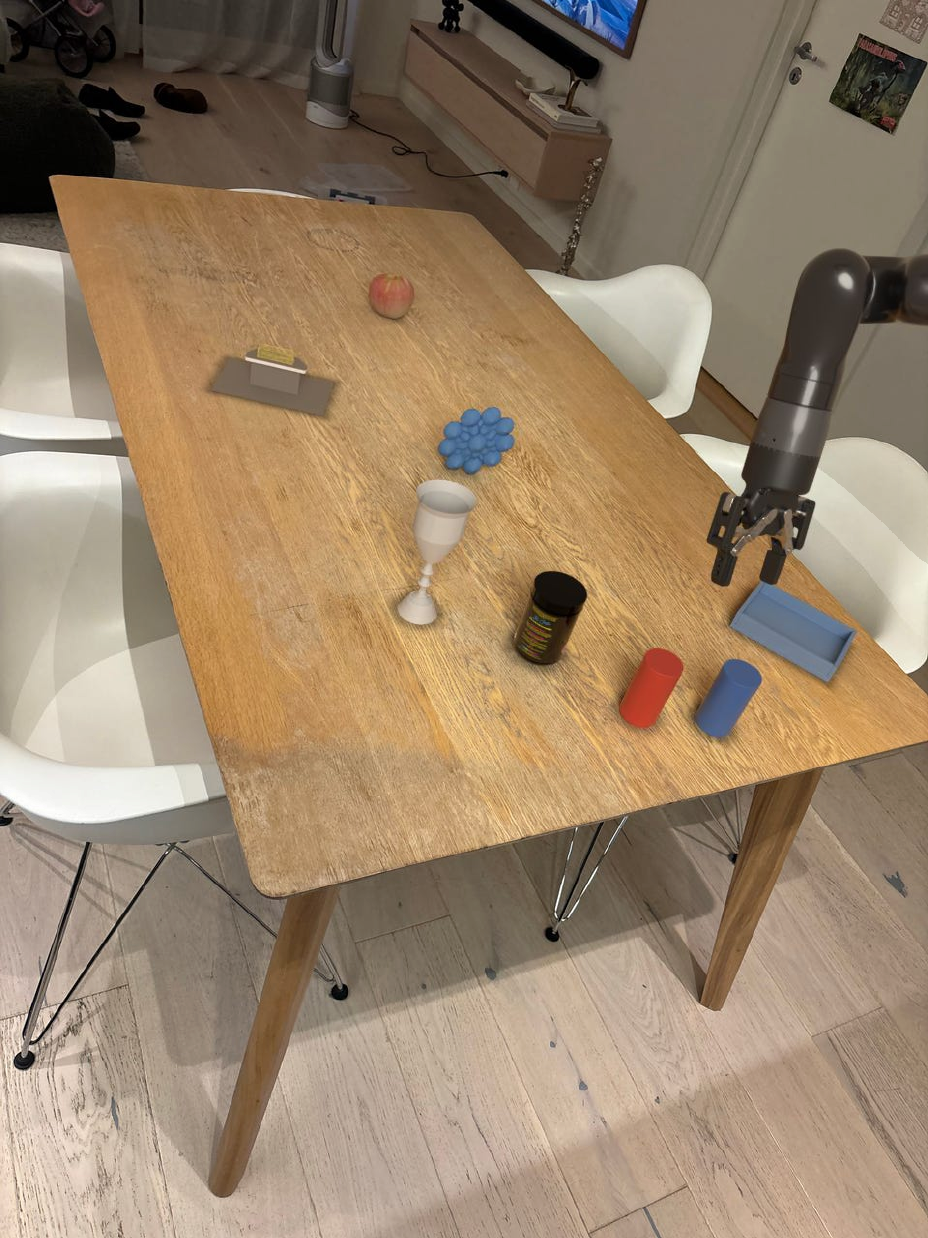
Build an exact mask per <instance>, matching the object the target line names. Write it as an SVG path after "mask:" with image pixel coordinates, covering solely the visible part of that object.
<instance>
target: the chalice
mask: <svg viewBox="0 0 928 1238" xmlns="http://www.w3.org/2000/svg"><path fill="white" fill-rule="evenodd" d="M415 492H416V498H417V501H418V502H417V505H416V510H415V514H414V517H413V521H412V522H413V523H412V530H413V534H414V535H413V536H414V541H415V545H416V548H417V549H418V553H419V555H420V556H419V557H420V558H421V559H422V560H423V561H425V563H424V565H423V567H421V568H420V572H421V574H422V576H421V578H418V580H417V584H418V586H419V587H418V588H419V589H418V590H417V589H416V590H412V591H410V592H409V593H407V595H406V596H405V597H404V598H403V599H402V600H401V602H399V603H398V606H397V612H398V614H399V615H400V617H401V618H402V619H404V621H406V622H408V623H411V624H415V625H428V624H430V623H433V622H434V621H435V620H436V619H437V610H436V606H435V600H434V599H433V597H432V596H431V595H430V594H429V593H428V592H427V590H428V588H430V587H431V586H432V581H431V576H432V575H434V574H435V570H434V564H438V563H440V562H442V561H443V560H444V559H445V558H446V557H447V556H448V555H449V554H450V553H452V551H454V550H455V548H456V547H457V546H458V544H459V543H460V542H461V541H462V539H463V537H464V534H465V530H466V527H467V524H468V520H469V516H470V513H472V511H473V510H474V509H475V508H476V506H477V504H478V500H477V496H476V495H475V493H473V491H472V490H471V489H469V488H468V487H467V486H465V485H463V484H460V483H458V482H455V481H451V480H448V479H447V480H446V479H430V480H427V481H424V482H421V483H420V484H419V485H418V486H417V487H416V490H415Z"/></svg>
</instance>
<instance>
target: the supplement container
mask: <svg viewBox="0 0 928 1238" xmlns="http://www.w3.org/2000/svg"><path fill="white" fill-rule="evenodd" d="M587 598H588V591H587V589H586V587H585V585H583V583H582V582H581V581H580V580H578V579H577V578H576V577H574V576H572V575H570V574H568V573H565V572H563V571H558V570H546V571H542V572H540V573H538V574H537V575H536V576H535V577H534V579H533V583H532V585H531V587H530V591H529V594H528V597H527V600H526V602H525V604H524V608H523V611H522V614H521V616H520V619H519V622H518V625H517V628H516V631H515V632H514V635H513V640H512V641H513V647H514V650H515V652H516V653H517V654H518V656H519V657H520V658H521V659H523V660H524V661H525V662H527V663H529V664H532V665H534V666H539V667H549V666H552V665H555V664H557V663H558V662H559V661H560V660H562V658H563V656H564V653H565V651H566V649H567V647H568V644H569V642H570V639H571V637H572V634H573V633H574V630H575V627H576V625H577V622H578V620H579V618H580V615H581V613H582V611H583V609H584V607H585V603H586V601H587Z"/></svg>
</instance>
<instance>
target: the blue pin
mask: <svg viewBox="0 0 928 1238" xmlns="http://www.w3.org/2000/svg"><path fill="white" fill-rule="evenodd" d="M762 681H763V677H762V675H761V673H760V670H758V669H757V668H756V667H755V666H754V665H752V663H749V662H747V661H746V660H742V659H739V658H730V659H728V660H726V661H725V662H724V663H723V665H722V666H721V668H720V670H719V671H718V674H717V675H716V676H715V678H714V680H713V682H712V683H711V686H710V687H709V689H708V690H707V692H706V694H705V696H704V697H703V700H701V703H700V704H699V706H698V708H697V710H696V711H695V712H694V721H695V724H696V725H697V727H698V728H699V729H700V730H701V731H702V732H704V733H705V734H707V735H708V736H710V737H714V738H726V737H727V736H729V735H730V734H731V732H732V731H733V729H734V728H735V726H736V724H737V723H738V721H739V720H740V719H741V717H742V715H743V713H744V712H745V710H746V709H747V707H748V705H749V704H750V702H751V700H752V699H753V698H754V697H755V694H756V693H757V691H758V690H759V688H760V686H761V685H762V683H763V682H762Z"/></svg>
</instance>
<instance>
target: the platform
mask: <svg viewBox="0 0 928 1238" xmlns="http://www.w3.org/2000/svg"><path fill="white" fill-rule="evenodd" d="M267 347H268V348H267ZM274 348H275V349H276V350H275V349H274ZM282 350H283V351H284V352H283V351H282ZM290 352H291V353H292V354H291V353H290ZM295 354H296V351H295V350H292V349H286V348H283V347H278V346H275V345H269V344H266V343H259V345H258V347H257V348H255V349H252V350H250V351H248V352H246V353H245V356H244V360H245V361H243V360H238V359H235V358H228V360H227V362H226V364H225V366H224V368H222V371H221V372H220V374H219V376H218V377H217V379H216V381H215V383H214V384H213V387H212V388H211V390H210V391H211V392H215V393H221V394H225V395H229V396H233V397H238V398H243V399H247V400H250V401H255V402H259V403H264V404H268V405H273V406H276V407H281V408H285V409H290V410H294V411H299V412H302V413H306V414H312V415H315V416H320V417H323V416H324V413H325V410H326V408H327V404H328V402H329V399H330V396H331V393H332V390H333V388H334V385H335V382H331V381H327V380H323V379H319V378H314V377H310V376H306V375H304V374H307V372H308V366H307V364H305V363H304V362H303V360H301V358H299V357H297V356H295ZM246 361H247V362H246ZM301 374H303V375H301Z"/></svg>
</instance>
